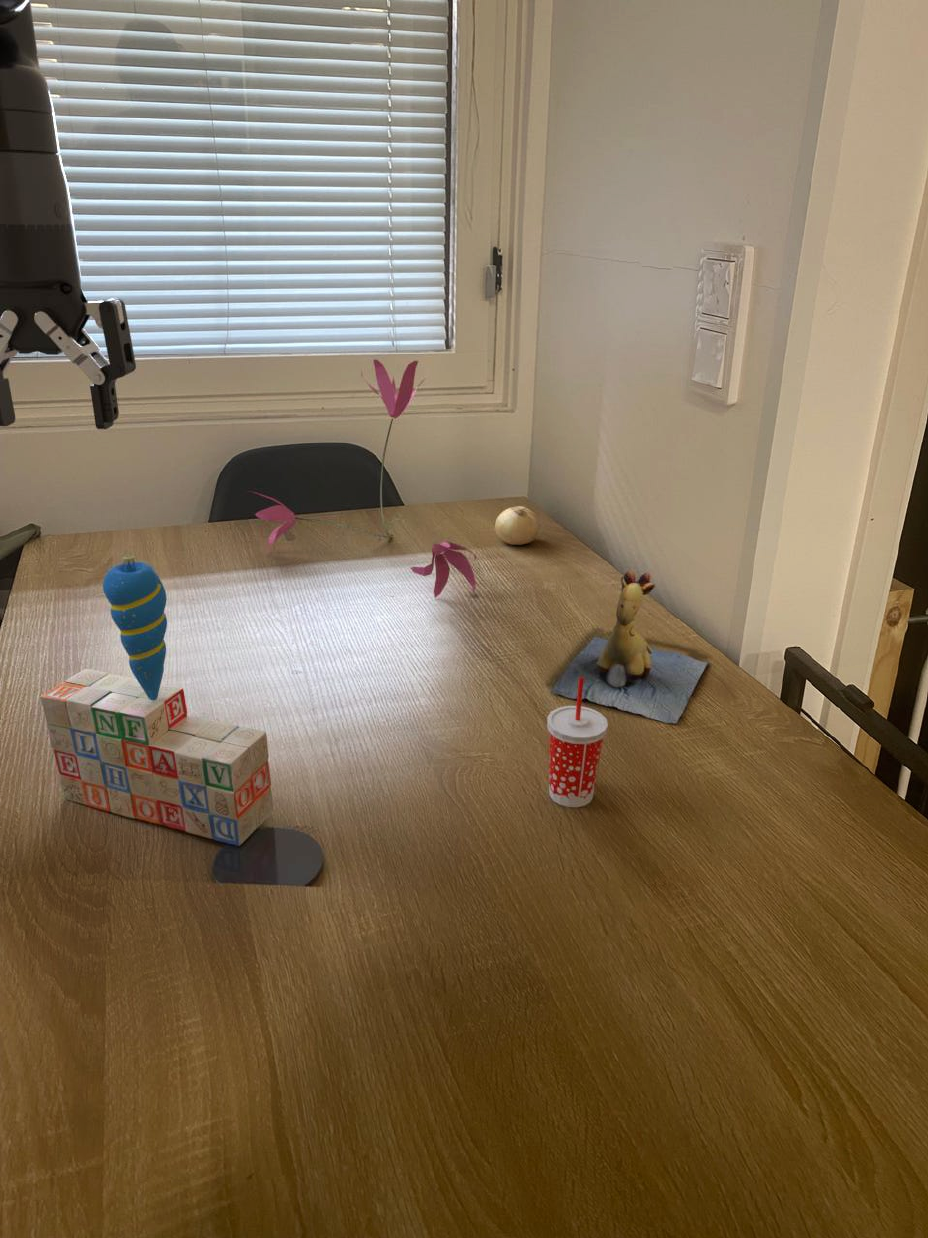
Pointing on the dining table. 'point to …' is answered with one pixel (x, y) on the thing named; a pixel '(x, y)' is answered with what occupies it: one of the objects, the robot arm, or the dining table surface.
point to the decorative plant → (395, 408)
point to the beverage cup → (574, 752)
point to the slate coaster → (270, 859)
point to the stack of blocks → (156, 758)
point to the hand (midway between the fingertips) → (55, 425)
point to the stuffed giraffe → (632, 666)
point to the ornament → (139, 619)
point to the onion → (517, 526)
